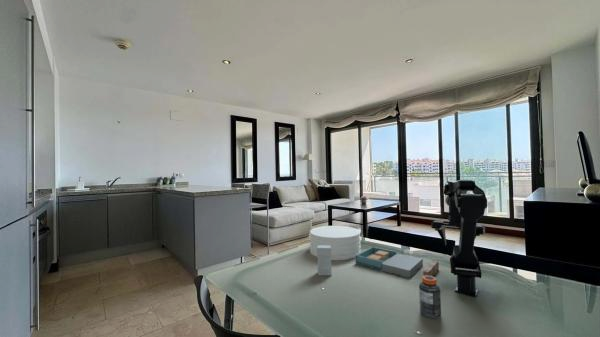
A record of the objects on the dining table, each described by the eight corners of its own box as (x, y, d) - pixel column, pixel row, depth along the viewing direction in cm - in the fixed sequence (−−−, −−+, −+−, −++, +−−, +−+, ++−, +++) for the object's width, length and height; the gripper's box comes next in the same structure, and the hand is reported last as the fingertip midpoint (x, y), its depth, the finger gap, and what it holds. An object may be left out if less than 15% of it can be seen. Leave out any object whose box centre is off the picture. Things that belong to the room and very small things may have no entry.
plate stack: (302, 248, 150) (301, 229, 150) (341, 241, 162) (341, 223, 162) (326, 263, 124) (326, 240, 124) (371, 254, 136) (371, 233, 136)
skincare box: (331, 271, 114) (330, 245, 114) (331, 275, 110) (331, 248, 110) (317, 271, 114) (317, 245, 115) (317, 275, 110) (317, 248, 110)
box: (381, 270, 114) (381, 261, 114) (355, 263, 123) (355, 255, 123) (396, 259, 128) (396, 251, 128) (372, 254, 136) (372, 246, 136)
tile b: (384, 259, 124) (384, 254, 124) (375, 257, 128) (375, 252, 128) (389, 257, 128) (388, 252, 128) (379, 255, 131) (379, 250, 131)
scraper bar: (428, 282, 102) (428, 272, 102) (423, 280, 103) (423, 271, 104) (438, 269, 114) (438, 261, 114) (433, 268, 116) (433, 260, 116)
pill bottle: (434, 308, 83) (433, 273, 83) (445, 318, 77) (444, 281, 77) (416, 308, 83) (415, 274, 83) (425, 319, 77) (425, 281, 77)
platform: (409, 277, 106) (409, 270, 106) (382, 270, 114) (381, 263, 114) (422, 265, 120) (422, 258, 120) (397, 259, 128) (397, 253, 128)
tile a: (377, 264, 118) (377, 259, 118) (367, 262, 122) (367, 257, 122) (382, 261, 122) (382, 256, 122) (372, 259, 125) (372, 254, 125)
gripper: (486, 209, 107) (487, 246, 107) (437, 206, 120) (438, 239, 120) (482, 213, 99) (483, 253, 99) (430, 209, 111) (431, 244, 111)
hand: (457, 247), depth 107 cm, fingers open, 9 cm apart
